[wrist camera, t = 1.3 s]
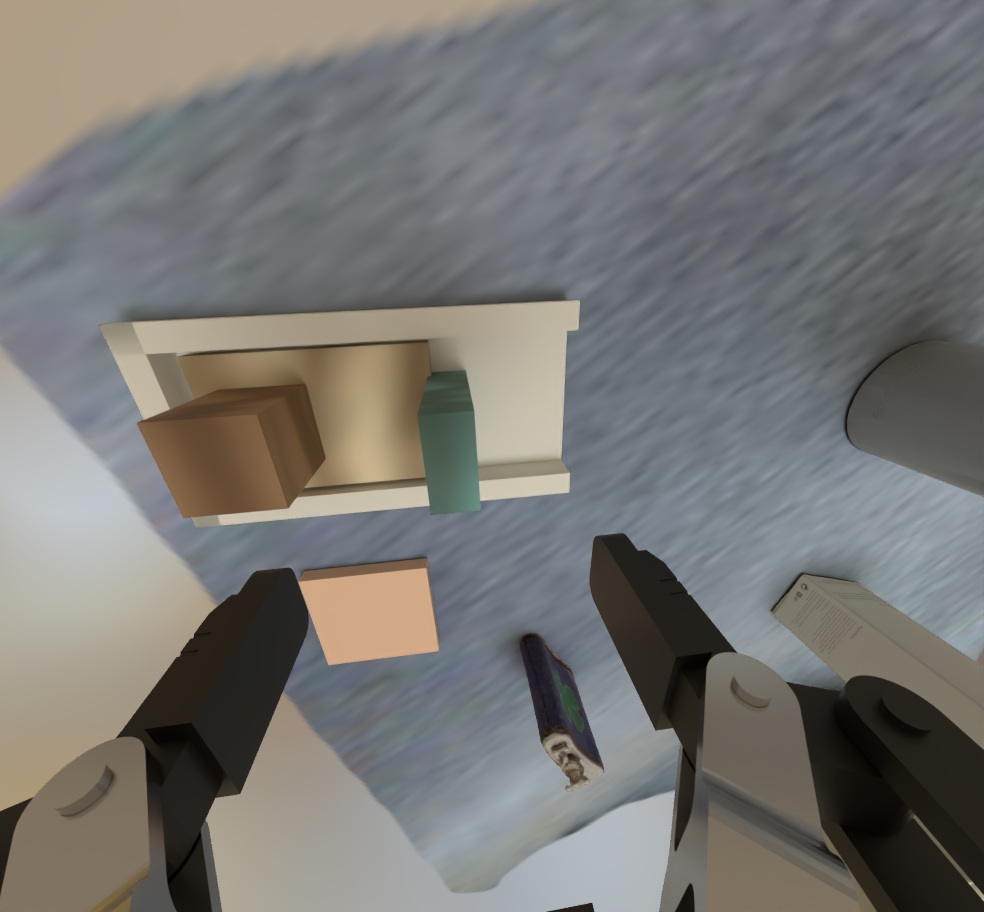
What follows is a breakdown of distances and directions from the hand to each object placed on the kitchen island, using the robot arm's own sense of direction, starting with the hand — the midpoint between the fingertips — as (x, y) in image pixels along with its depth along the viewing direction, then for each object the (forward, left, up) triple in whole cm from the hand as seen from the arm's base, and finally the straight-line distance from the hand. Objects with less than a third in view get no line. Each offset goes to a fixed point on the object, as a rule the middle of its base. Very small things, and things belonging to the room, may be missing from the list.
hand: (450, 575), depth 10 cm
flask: (-17, +24, -17) cm, 34 cm away
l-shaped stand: (+6, +2, -16) cm, 17 cm away
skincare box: (-43, +10, -17) cm, 47 cm away
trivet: (+1, +20, -16) cm, 26 cm away
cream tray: (+4, +2, -16) cm, 17 cm away
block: (+10, +4, -15) cm, 18 cm away
